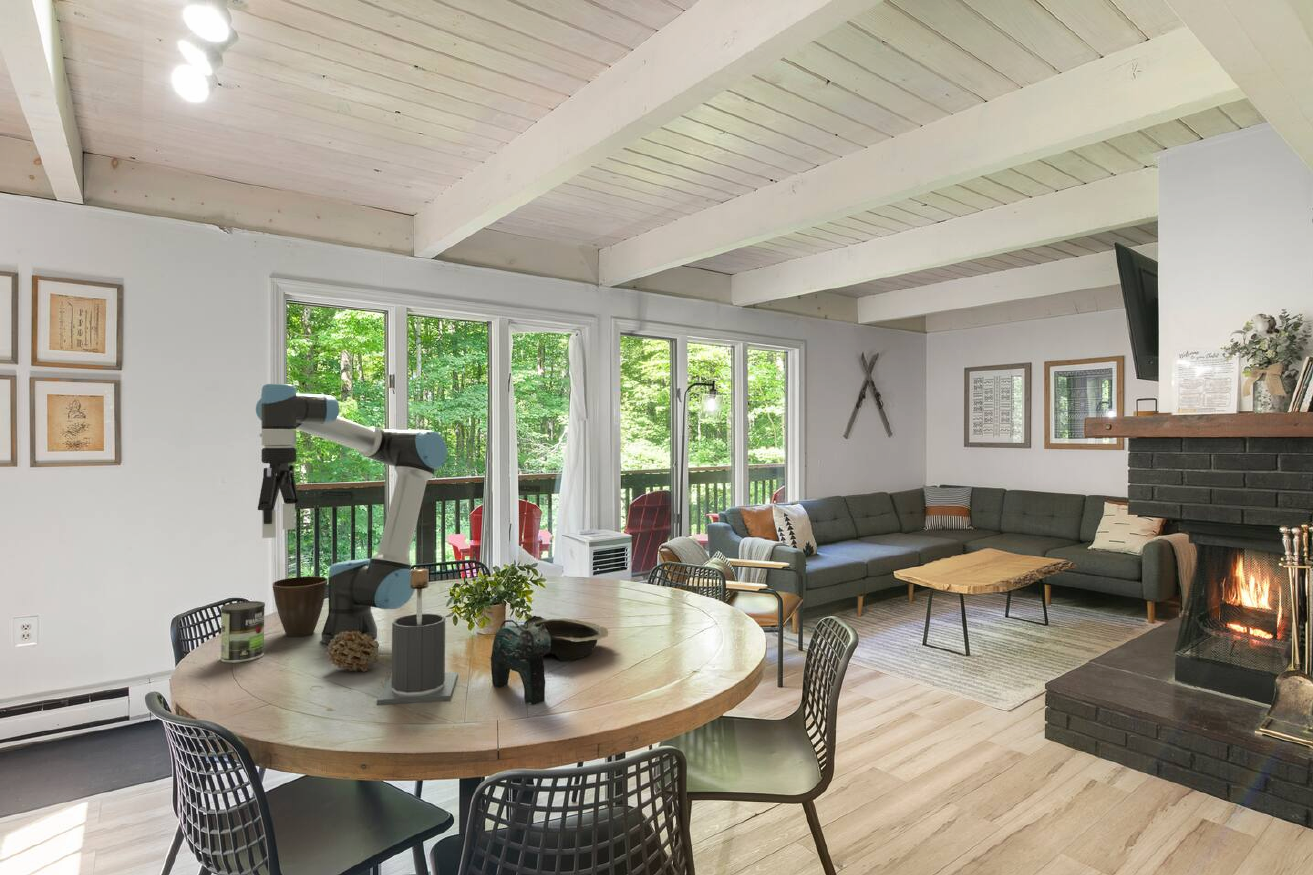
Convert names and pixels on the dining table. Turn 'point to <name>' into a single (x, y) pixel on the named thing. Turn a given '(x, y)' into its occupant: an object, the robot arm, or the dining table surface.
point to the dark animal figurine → (521, 658)
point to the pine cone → (354, 651)
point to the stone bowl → (569, 636)
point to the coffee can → (242, 631)
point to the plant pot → (299, 603)
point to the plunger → (419, 588)
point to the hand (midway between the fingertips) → (279, 533)
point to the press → (418, 662)
